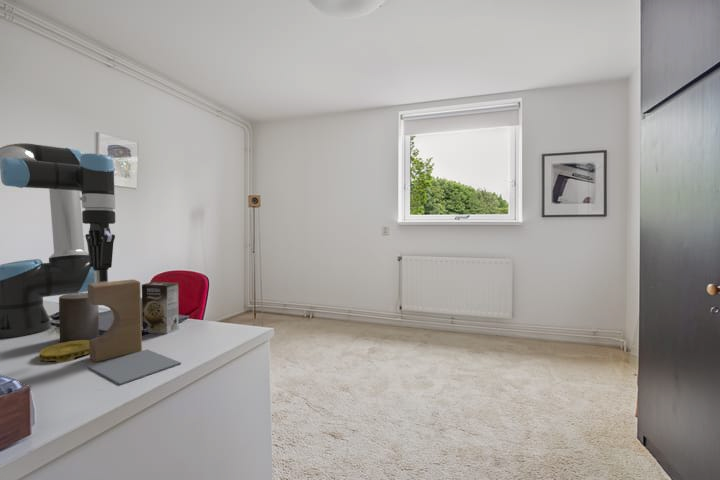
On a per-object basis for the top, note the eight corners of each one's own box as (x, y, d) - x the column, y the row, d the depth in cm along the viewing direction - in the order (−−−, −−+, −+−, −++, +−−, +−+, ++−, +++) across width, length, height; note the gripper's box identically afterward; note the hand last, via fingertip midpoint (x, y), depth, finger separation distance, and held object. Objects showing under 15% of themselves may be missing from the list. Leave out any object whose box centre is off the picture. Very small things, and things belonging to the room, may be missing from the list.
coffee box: (141, 333, 114) (140, 284, 114) (155, 327, 121) (154, 281, 120) (167, 334, 113) (166, 285, 112) (179, 328, 120) (178, 281, 119)
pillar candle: (54, 345, 102) (53, 295, 102) (66, 335, 111) (65, 289, 111) (94, 341, 106) (93, 293, 106) (103, 332, 115) (102, 287, 115)
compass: (27, 361, 91) (26, 353, 91) (72, 346, 103) (72, 338, 103) (64, 365, 89) (64, 357, 89) (106, 348, 101) (106, 341, 101)
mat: (88, 367, 87) (88, 366, 87) (147, 350, 99) (147, 349, 99) (120, 385, 78) (120, 383, 78) (180, 364, 89) (180, 362, 89)
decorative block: (93, 363, 90) (91, 286, 89) (89, 357, 94) (87, 283, 93) (142, 351, 98) (140, 281, 97) (136, 346, 102) (135, 279, 101)
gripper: (73, 210, 99) (76, 292, 100) (93, 208, 92) (96, 297, 93) (104, 210, 105) (106, 288, 106) (124, 209, 98) (127, 292, 99)
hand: (101, 292), depth 99 cm, fingers closed
